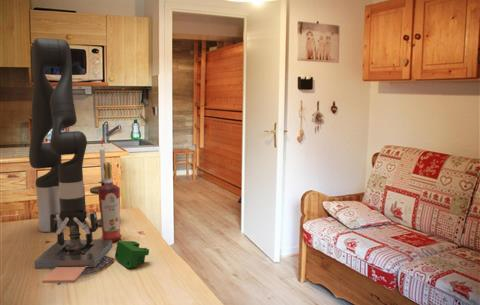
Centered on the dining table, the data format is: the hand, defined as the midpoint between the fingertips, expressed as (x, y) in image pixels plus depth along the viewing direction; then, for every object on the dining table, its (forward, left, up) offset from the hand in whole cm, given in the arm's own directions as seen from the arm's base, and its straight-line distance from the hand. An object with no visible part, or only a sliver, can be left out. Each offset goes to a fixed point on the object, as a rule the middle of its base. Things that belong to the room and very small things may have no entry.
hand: (75, 244), depth 136 cm
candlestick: (-35, -1, -4) cm, 35 cm away
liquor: (-15, +7, -4) cm, 17 cm away
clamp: (+5, +19, -4) cm, 20 cm away
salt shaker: (0, 0, -4) cm, 4 cm away
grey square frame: (0, 0, -4) cm, 4 cm away
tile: (+14, +2, -4) cm, 15 cm away
